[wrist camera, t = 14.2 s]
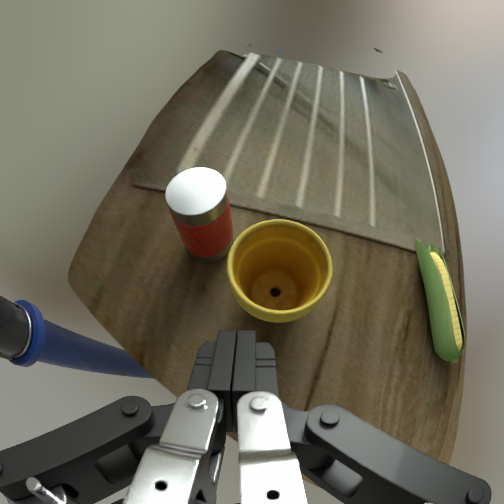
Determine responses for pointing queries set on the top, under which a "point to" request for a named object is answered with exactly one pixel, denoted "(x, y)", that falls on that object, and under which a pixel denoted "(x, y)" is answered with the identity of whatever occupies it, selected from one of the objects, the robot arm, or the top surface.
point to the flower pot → (279, 270)
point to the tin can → (201, 213)
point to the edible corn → (441, 304)
